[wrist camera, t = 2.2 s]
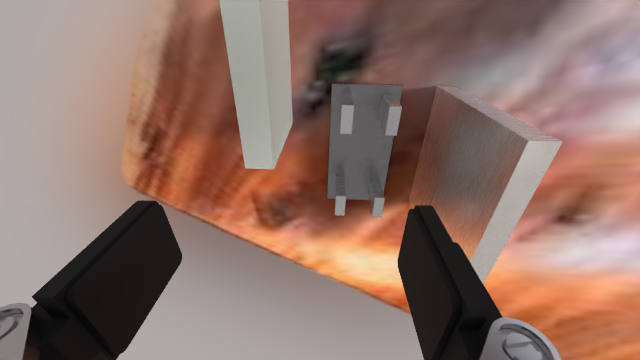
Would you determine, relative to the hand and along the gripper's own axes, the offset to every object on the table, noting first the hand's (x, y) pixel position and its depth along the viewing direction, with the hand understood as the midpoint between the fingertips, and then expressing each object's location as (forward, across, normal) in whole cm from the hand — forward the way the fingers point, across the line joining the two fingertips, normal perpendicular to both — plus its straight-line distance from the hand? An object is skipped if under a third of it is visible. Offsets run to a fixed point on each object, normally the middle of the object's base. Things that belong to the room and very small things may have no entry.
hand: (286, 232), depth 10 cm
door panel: (+24, +4, -3) cm, 24 cm away
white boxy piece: (+24, -9, +7) cm, 26 cm away
